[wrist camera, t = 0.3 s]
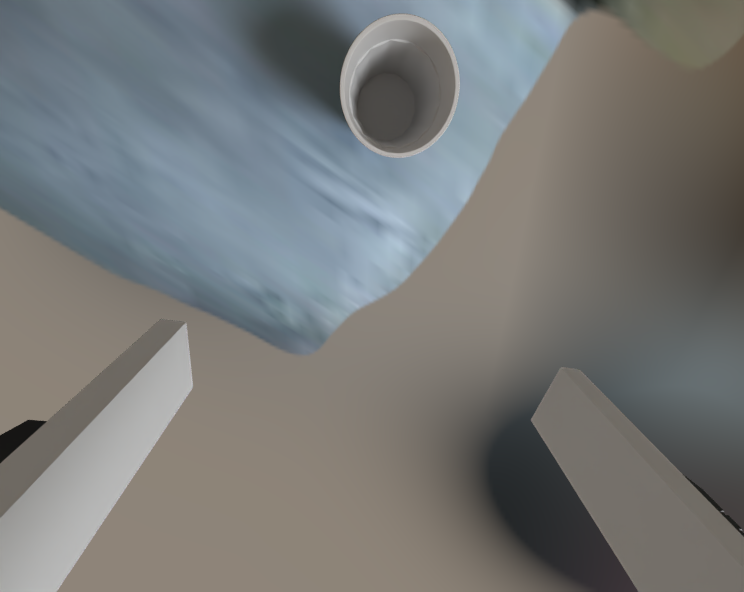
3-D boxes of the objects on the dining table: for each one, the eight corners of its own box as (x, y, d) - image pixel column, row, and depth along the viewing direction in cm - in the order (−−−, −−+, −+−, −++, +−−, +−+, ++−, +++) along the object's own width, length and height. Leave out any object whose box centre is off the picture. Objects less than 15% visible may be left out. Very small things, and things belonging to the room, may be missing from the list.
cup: (340, 144, 32) (332, 145, 22) (352, 51, 29) (350, -3, 18) (413, 159, 33) (440, 167, 22) (433, 71, 30) (476, 31, 19)
